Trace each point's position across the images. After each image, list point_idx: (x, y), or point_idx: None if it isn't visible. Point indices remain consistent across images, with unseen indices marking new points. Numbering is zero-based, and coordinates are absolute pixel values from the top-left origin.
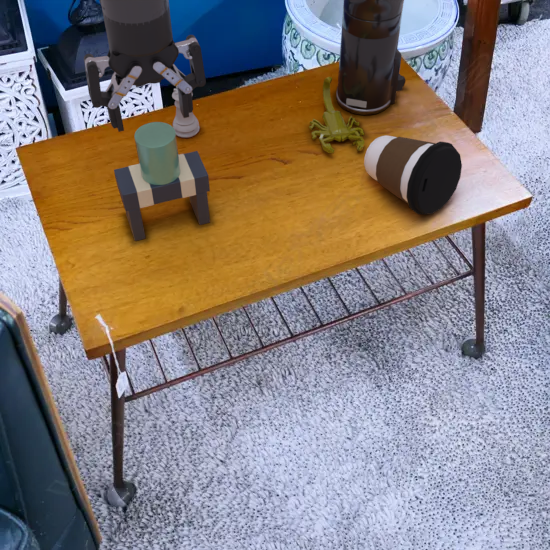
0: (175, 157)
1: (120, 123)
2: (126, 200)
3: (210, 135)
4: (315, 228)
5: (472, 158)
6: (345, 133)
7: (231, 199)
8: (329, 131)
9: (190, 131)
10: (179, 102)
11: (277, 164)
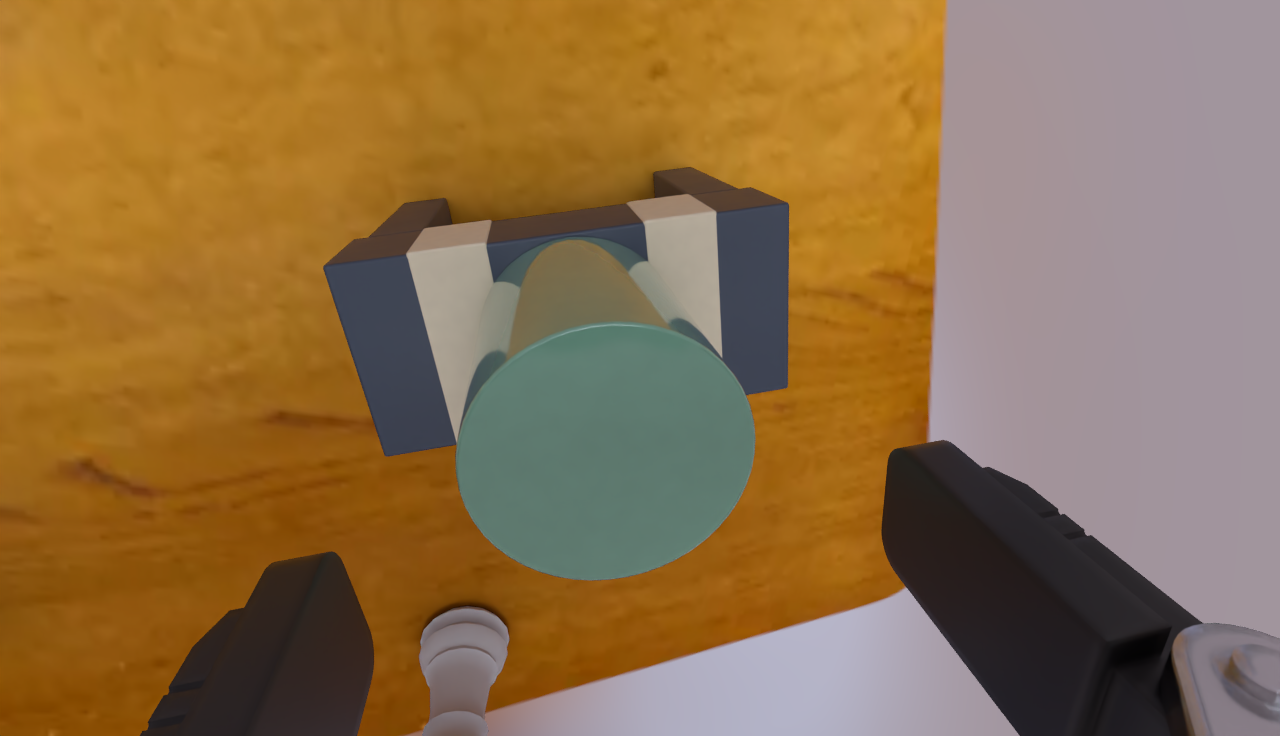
0: (488, 326)
1: (973, 489)
2: (761, 198)
3: (387, 611)
4: None
5: None
6: None
7: (313, 312)
8: None
9: (449, 625)
10: (351, 727)
11: (122, 464)
